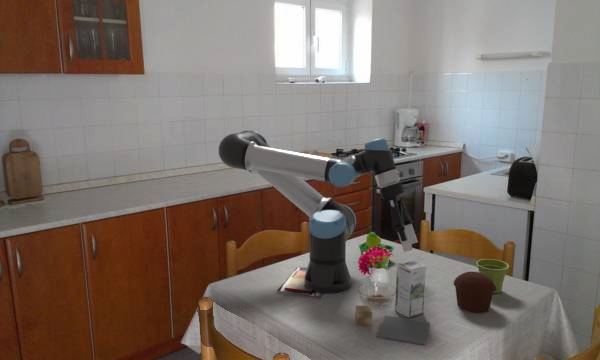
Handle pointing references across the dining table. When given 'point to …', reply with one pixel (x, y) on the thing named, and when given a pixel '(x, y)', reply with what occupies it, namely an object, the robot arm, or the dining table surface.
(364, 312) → the oak block
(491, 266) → the plant pot
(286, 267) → the dining table surface
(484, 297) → the muffin
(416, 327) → the rubber mat
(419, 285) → the syrup box
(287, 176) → the robot arm
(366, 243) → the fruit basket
